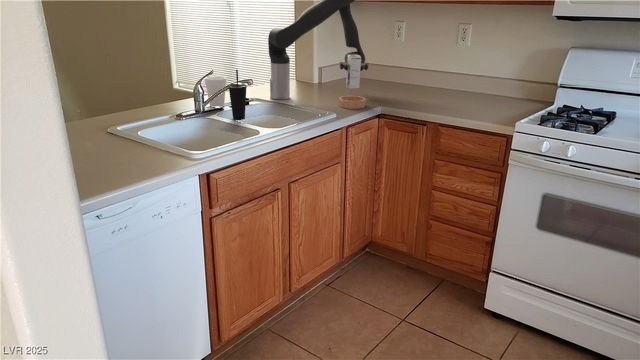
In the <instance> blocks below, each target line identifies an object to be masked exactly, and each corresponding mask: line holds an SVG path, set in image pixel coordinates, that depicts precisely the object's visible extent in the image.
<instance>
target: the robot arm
mask: <svg viewBox="0 0 640 360" xmlns="http://www.w3.org/2000/svg"><path fill="white" fill-rule="evenodd" d="M355 1H356V0H321V1H318V2H317V3H315V4H313V5H311V6H309V7H308V8H306V9H305V10H304V11H303V12H302V13H301V14H300V16H299V17H298V19H296V20H295V21H294V22H292V24H290V25H288V26H285V27H284V28H281V27H274V28H272V29H271V30H269V33H268V39H267V42H268V45H267V46H268V55H269V59H270V79H269V88H270V89H269V91H270V92H269V93H270V94H269V95H270V98H269V99H274V100H289V99H290V96H291V91H290V90H291V86H290V82H291V79H290V78H291V76H290V75H291V74H290V73H291V72H290V71H291V69H290V67H291V66H290V65H291V64H290V63H291V61H290V60H291V58H290V55H288V53H287V48H289V47H291V46H292V45H293V44H294V43H295V42H296V41H298V40H299V39H300V38H302V37H303V36H304V35H305V34H307V33H308V32H310V31H312V30H313V29H314V28H316V27H318V26H320V25H321V24H322V23H324V22H325V21H326V20H328V19H329V18H331V17H332V16H333V15H334V14H336V13H337V11H338V13H339V16H340V19H341V23H342V26H343V34H344V39H345V40H344V42H345V46H346V47H347V48H353V49H356V51H352V52H350V51H349V52H347V53H345V55H344V62H343V61H340V62H339V69H340V70H344V71H347V61H348V55H360V56H361V68H360V72H362V71H367V70H369V62H366V55H365V53H364V51H363V49H362V45H361V43H360V36H359V30H358V27H357V24H356V22H355V20H354V18H353V15H352V11H351V4H352V3H354V2H355ZM365 62H366V63H365Z"/></svg>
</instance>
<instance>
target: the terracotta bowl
mask: <svg viewBox="0 0 640 360" xmlns="http://www.w3.org/2000/svg"><path fill="white" fill-rule="evenodd" d="M338 106H339V107H340V108H342V109H350V110H351V109H353V110H354V109H355V110H356V109H363V108H366V97H363V96H358V95H343V96H339V97H338Z"/></svg>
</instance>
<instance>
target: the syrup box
mask: <svg viewBox="0 0 640 360" xmlns="http://www.w3.org/2000/svg"><path fill="white" fill-rule="evenodd" d="M360 68H361V56H360V55H348V61H347V70H346V81H345V82H346V84H345V85H346V88H347V89H360V86H361V85H360V84H361V83H360V82H361V81H360V80H361V71H360Z"/></svg>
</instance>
